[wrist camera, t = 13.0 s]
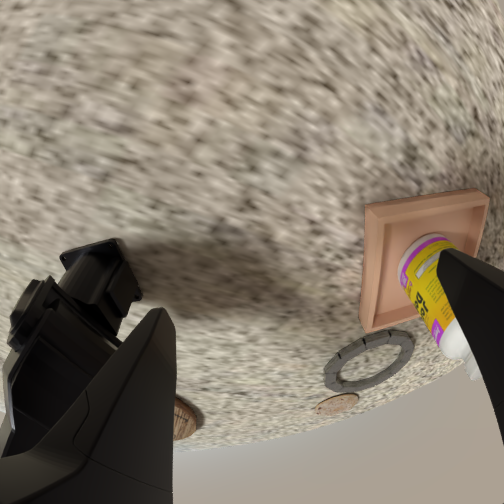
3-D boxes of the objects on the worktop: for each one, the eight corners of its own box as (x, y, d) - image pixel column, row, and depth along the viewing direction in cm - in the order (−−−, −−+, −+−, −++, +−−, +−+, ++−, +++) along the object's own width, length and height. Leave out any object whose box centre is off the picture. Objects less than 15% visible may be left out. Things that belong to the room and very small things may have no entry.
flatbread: (315, 398, 39) (316, 403, 38) (360, 387, 38) (362, 392, 38) (313, 416, 43) (314, 421, 42) (353, 406, 43) (355, 411, 42)
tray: (358, 317, 28) (365, 333, 26) (365, 204, 21) (378, 218, 19) (451, 288, 28) (461, 301, 26) (474, 187, 20) (490, 198, 18)
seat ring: (322, 394, 38) (324, 400, 37) (324, 346, 31) (326, 353, 30) (399, 372, 37) (401, 376, 36) (419, 319, 30) (423, 324, 29)
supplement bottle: (384, 261, 23) (456, 377, 13) (437, 217, 21) (529, 313, 10) (407, 297, 26) (463, 395, 15) (453, 259, 24) (521, 347, 13)
